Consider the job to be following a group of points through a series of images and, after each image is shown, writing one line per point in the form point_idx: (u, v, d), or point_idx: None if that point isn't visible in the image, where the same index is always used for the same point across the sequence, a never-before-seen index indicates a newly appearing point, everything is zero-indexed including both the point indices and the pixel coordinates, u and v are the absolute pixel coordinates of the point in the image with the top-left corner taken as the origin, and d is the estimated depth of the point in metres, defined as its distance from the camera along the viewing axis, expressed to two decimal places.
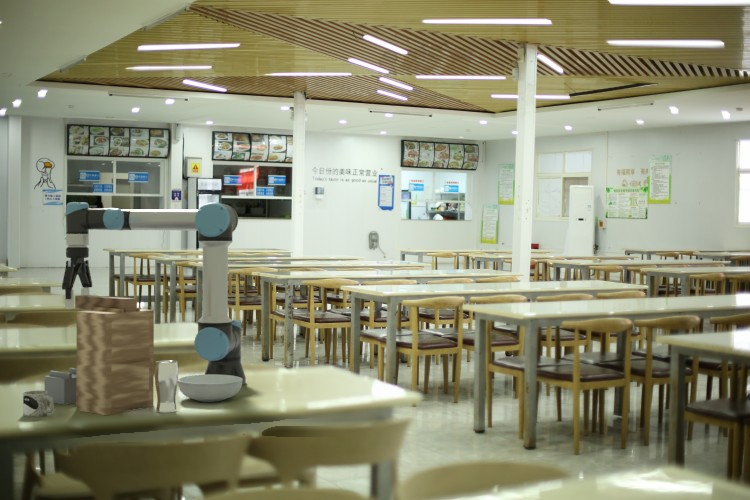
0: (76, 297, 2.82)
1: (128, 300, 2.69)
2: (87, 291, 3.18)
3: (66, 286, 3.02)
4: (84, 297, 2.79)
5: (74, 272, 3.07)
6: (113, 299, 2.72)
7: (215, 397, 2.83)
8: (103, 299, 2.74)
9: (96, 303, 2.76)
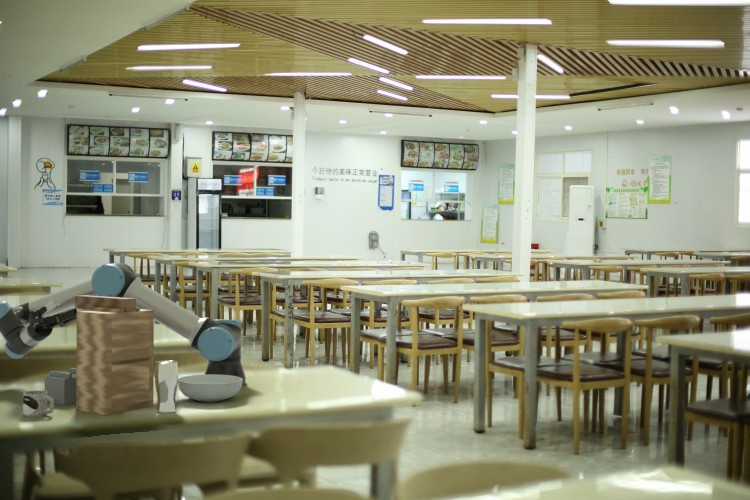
0: (76, 297, 2.82)
1: (128, 300, 2.69)
2: None
3: (31, 314, 2.88)
4: (84, 297, 2.79)
5: None
6: (113, 299, 2.72)
7: (215, 397, 2.83)
8: (103, 299, 2.74)
9: (96, 303, 2.76)
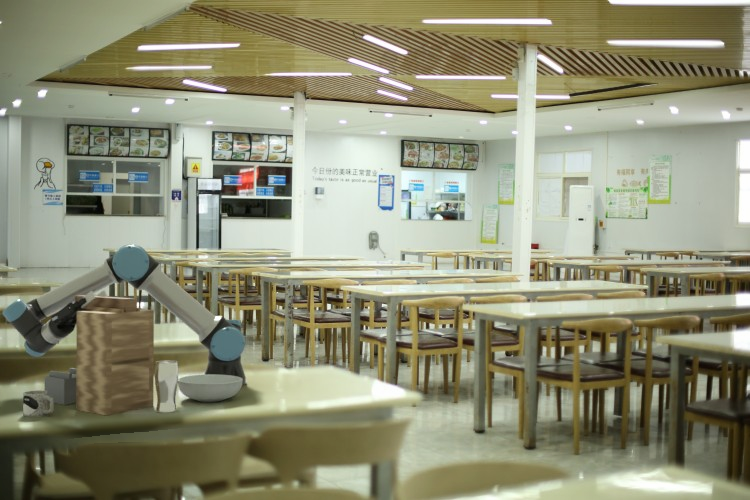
0: (76, 297, 2.82)
1: (128, 300, 2.69)
2: None
3: (70, 305, 2.78)
4: None
5: None
6: (113, 299, 2.72)
7: (215, 397, 2.83)
8: (103, 299, 2.74)
9: (95, 303, 2.76)
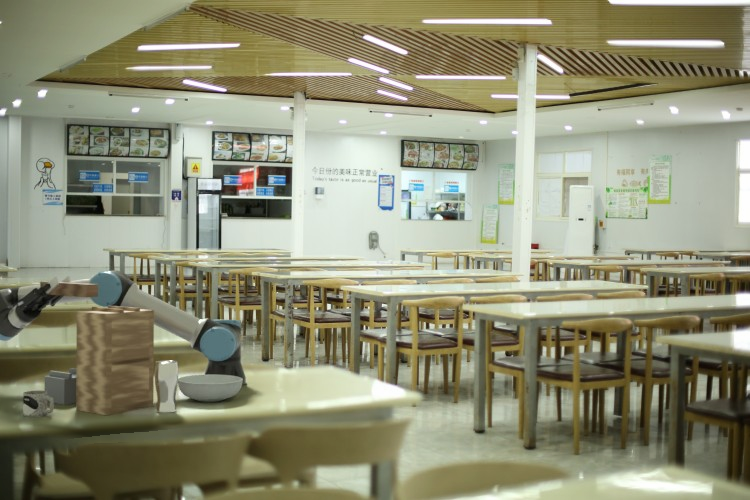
0: (41, 283, 2.92)
1: (90, 286, 2.79)
2: None
3: (34, 291, 2.88)
4: None
5: None
6: (75, 285, 2.82)
7: (215, 397, 2.83)
8: (66, 285, 2.84)
9: (59, 289, 2.86)
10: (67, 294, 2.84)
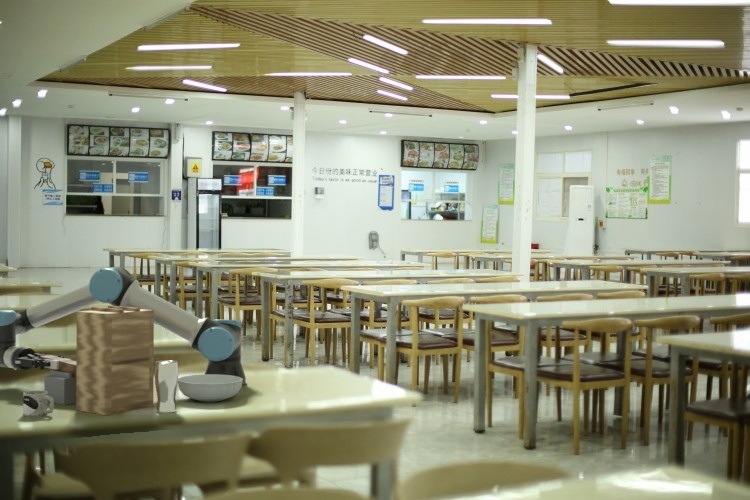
0: (40, 358, 2.92)
1: None
2: None
3: (34, 362, 2.88)
4: None
5: (31, 359, 2.94)
6: (74, 366, 2.82)
7: (215, 397, 2.83)
8: (65, 364, 2.85)
9: None
10: None
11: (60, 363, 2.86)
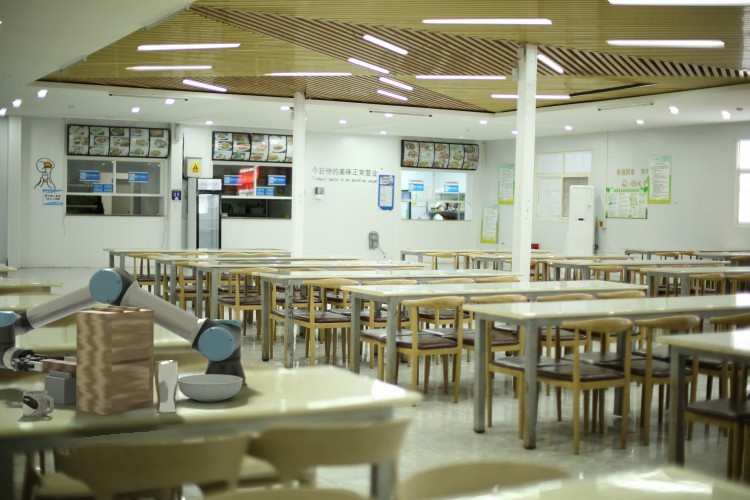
0: (40, 361, 2.92)
1: None
2: (66, 358, 2.98)
3: (17, 364, 2.86)
4: (47, 362, 2.90)
5: (25, 360, 2.93)
6: (74, 366, 2.82)
7: (215, 397, 2.83)
8: (65, 365, 2.85)
9: (58, 369, 2.87)
10: None
11: (60, 365, 2.87)
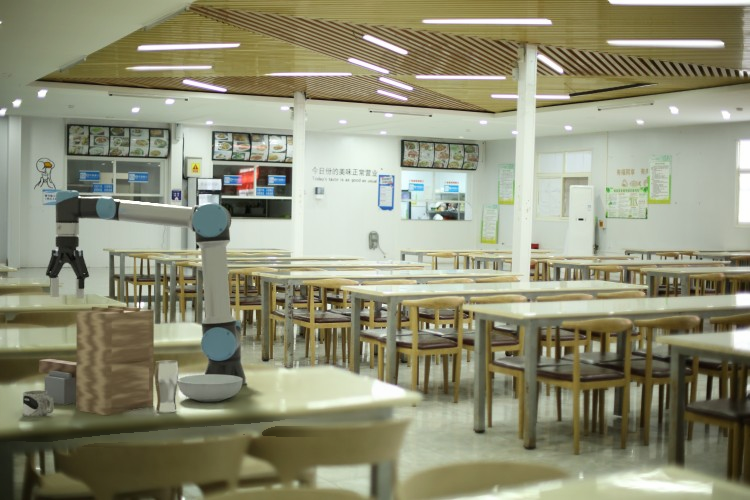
0: (40, 361, 2.92)
1: None
2: (57, 281, 3.10)
3: (86, 275, 3.00)
4: (47, 362, 2.90)
5: (76, 261, 3.03)
6: (74, 366, 2.82)
7: (215, 397, 2.83)
8: (65, 365, 2.85)
9: (58, 369, 2.87)
10: None
11: (60, 365, 2.87)
